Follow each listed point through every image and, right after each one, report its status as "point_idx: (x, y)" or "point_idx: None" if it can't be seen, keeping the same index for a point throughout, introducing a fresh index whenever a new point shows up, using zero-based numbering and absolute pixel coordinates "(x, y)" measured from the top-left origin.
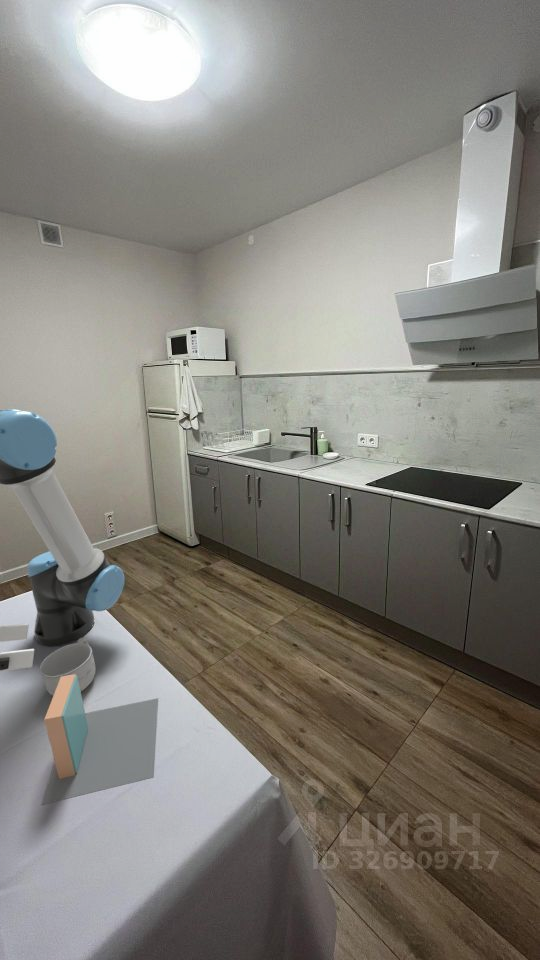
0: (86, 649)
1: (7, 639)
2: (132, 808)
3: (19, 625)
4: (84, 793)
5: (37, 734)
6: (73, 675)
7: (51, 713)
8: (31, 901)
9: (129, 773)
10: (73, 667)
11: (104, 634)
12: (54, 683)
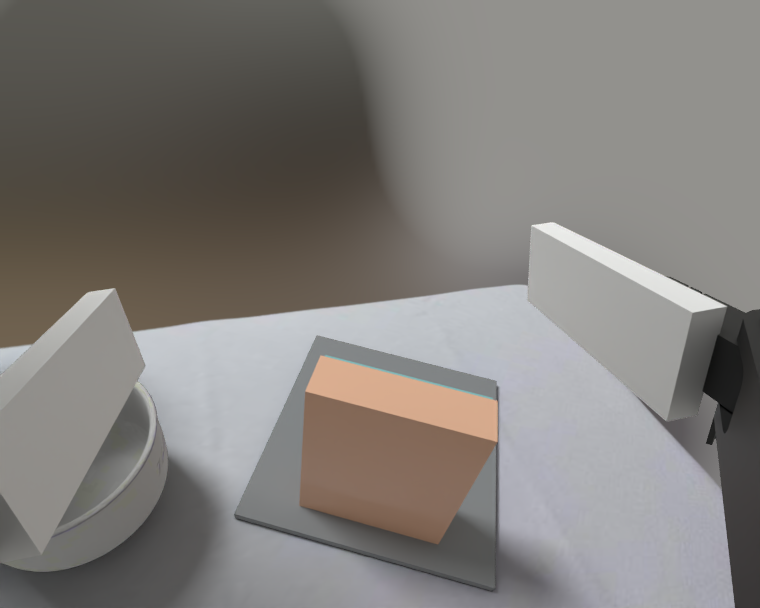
0: None
1: (104, 422)
2: (537, 423)
3: (89, 311)
4: (494, 491)
5: None
6: (324, 360)
7: (478, 422)
8: (680, 603)
9: None
10: None
11: None
12: (125, 506)
